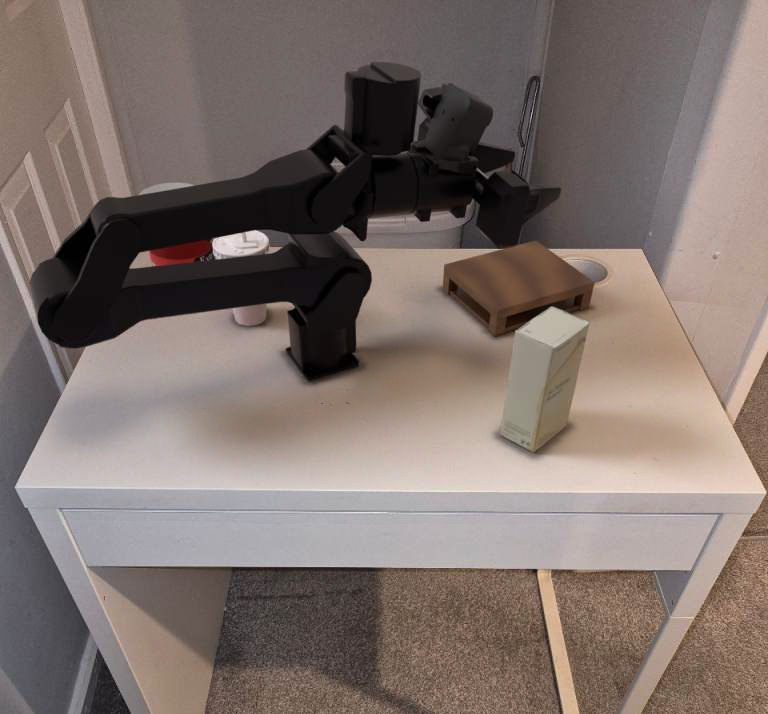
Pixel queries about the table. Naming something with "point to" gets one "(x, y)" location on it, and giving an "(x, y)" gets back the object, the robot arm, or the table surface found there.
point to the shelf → (516, 285)
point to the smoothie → (241, 247)
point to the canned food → (184, 251)
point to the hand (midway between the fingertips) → (536, 173)
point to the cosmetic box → (543, 377)
